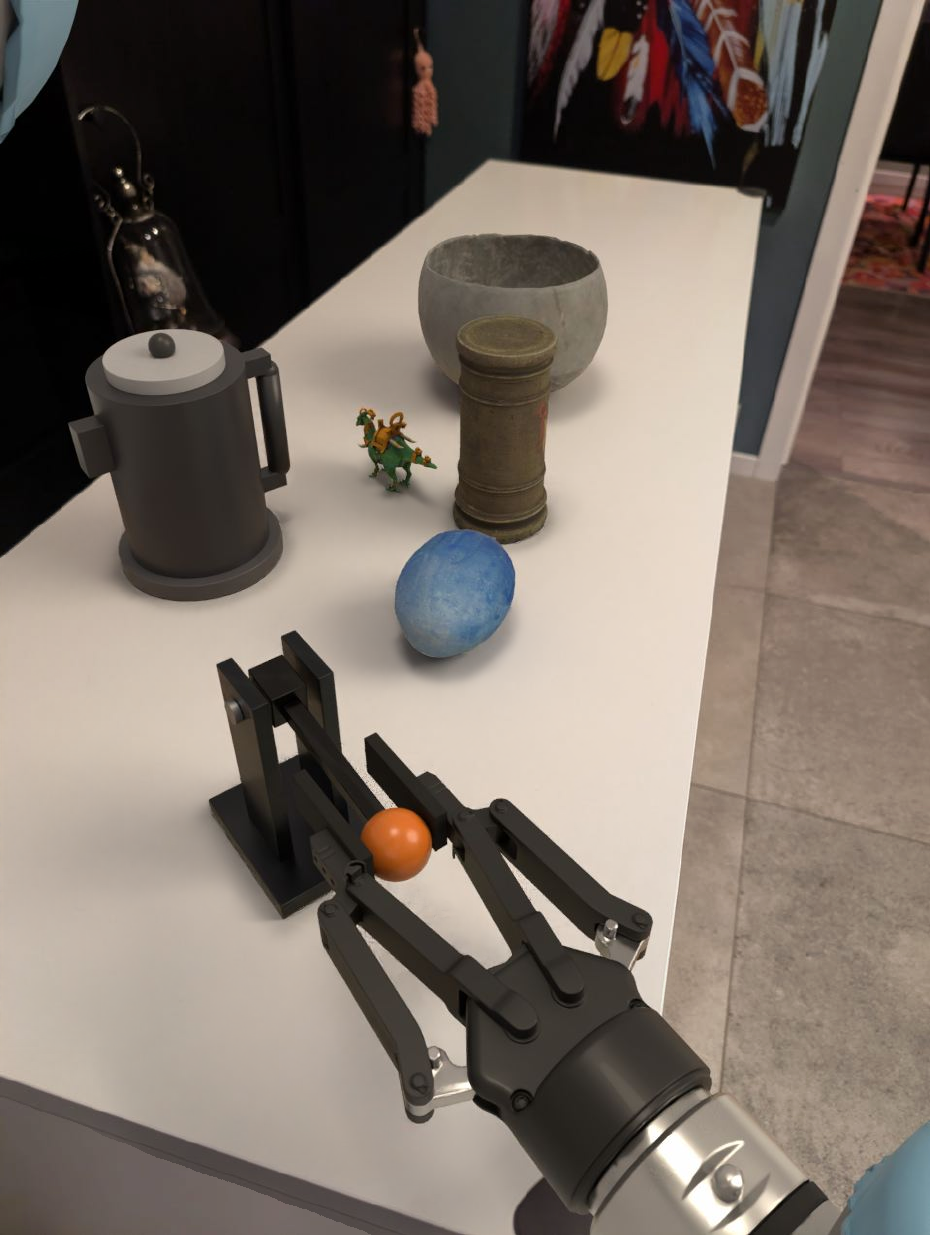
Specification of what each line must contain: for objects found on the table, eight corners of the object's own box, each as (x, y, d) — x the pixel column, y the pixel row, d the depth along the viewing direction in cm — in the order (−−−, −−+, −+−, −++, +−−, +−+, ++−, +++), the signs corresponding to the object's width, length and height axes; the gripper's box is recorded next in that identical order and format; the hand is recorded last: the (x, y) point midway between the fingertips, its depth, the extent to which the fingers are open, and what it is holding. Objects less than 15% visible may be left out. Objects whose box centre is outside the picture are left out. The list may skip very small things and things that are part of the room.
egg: (523, 477, 77) (449, 590, 66) (559, 564, 81) (494, 682, 71) (433, 492, 81) (351, 599, 71) (472, 573, 86) (399, 686, 76)
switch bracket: (394, 854, 61) (384, 689, 52) (283, 919, 58) (250, 755, 48) (316, 757, 67) (294, 594, 58) (210, 811, 64) (169, 646, 54)
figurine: (371, 456, 98) (367, 382, 93) (449, 505, 92) (449, 429, 86) (347, 466, 97) (341, 392, 91) (424, 517, 90) (423, 441, 85)
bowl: (635, 401, 108) (654, 268, 98) (482, 449, 100) (486, 309, 90) (530, 334, 121) (537, 211, 111) (387, 371, 113) (382, 242, 103)
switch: (444, 872, 49) (448, 832, 46) (385, 908, 47) (385, 870, 44) (296, 683, 57) (292, 641, 54) (241, 709, 55) (234, 666, 53)
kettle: (149, 627, 78) (88, 399, 64) (87, 544, 86) (22, 327, 73) (334, 553, 86) (313, 336, 72) (260, 483, 94) (230, 278, 81)
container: (490, 555, 86) (497, 368, 74) (433, 509, 91) (431, 328, 79) (567, 522, 90) (585, 340, 78) (508, 479, 95) (516, 303, 83)
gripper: (815, 980, 38) (463, 655, 52) (480, 1273, 30) (175, 798, 45) (774, 1067, 43) (462, 747, 57) (476, 1337, 35) (202, 891, 49)
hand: (337, 770), depth 51 cm, fingers closed on switch, 4 cm apart
